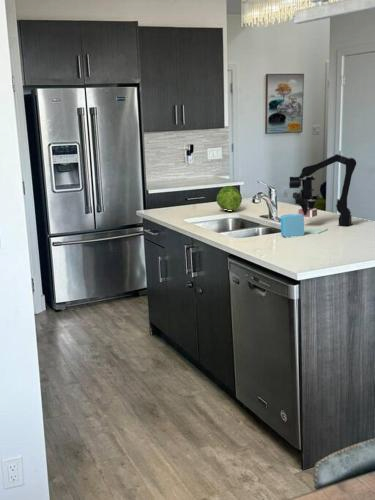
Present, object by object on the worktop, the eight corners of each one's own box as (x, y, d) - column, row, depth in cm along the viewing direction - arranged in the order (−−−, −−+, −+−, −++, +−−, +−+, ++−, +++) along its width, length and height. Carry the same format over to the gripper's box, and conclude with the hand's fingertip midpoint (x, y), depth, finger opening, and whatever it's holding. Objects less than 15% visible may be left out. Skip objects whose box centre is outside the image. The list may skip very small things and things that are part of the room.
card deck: (303, 214, 362) (303, 208, 361) (317, 215, 356) (316, 208, 355) (298, 216, 357) (298, 209, 356) (312, 217, 351) (311, 210, 351)
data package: (300, 234, 337) (300, 213, 334) (304, 235, 333) (303, 214, 330) (281, 236, 334) (280, 215, 332) (284, 238, 330) (283, 216, 327)
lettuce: (233, 207, 447) (232, 182, 443) (246, 211, 425) (245, 185, 421) (211, 210, 441) (209, 185, 437) (223, 214, 420) (221, 188, 416)
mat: (327, 229, 343) (327, 228, 343) (317, 233, 334) (317, 232, 334) (306, 228, 352) (306, 227, 352) (295, 232, 343) (295, 231, 343)
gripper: (303, 185, 365) (303, 210, 368) (287, 189, 351) (287, 215, 355) (319, 185, 358) (320, 211, 361) (303, 189, 344) (304, 216, 347)
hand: (307, 213), depth 356 cm, fingers closed on card deck, 6 cm apart
